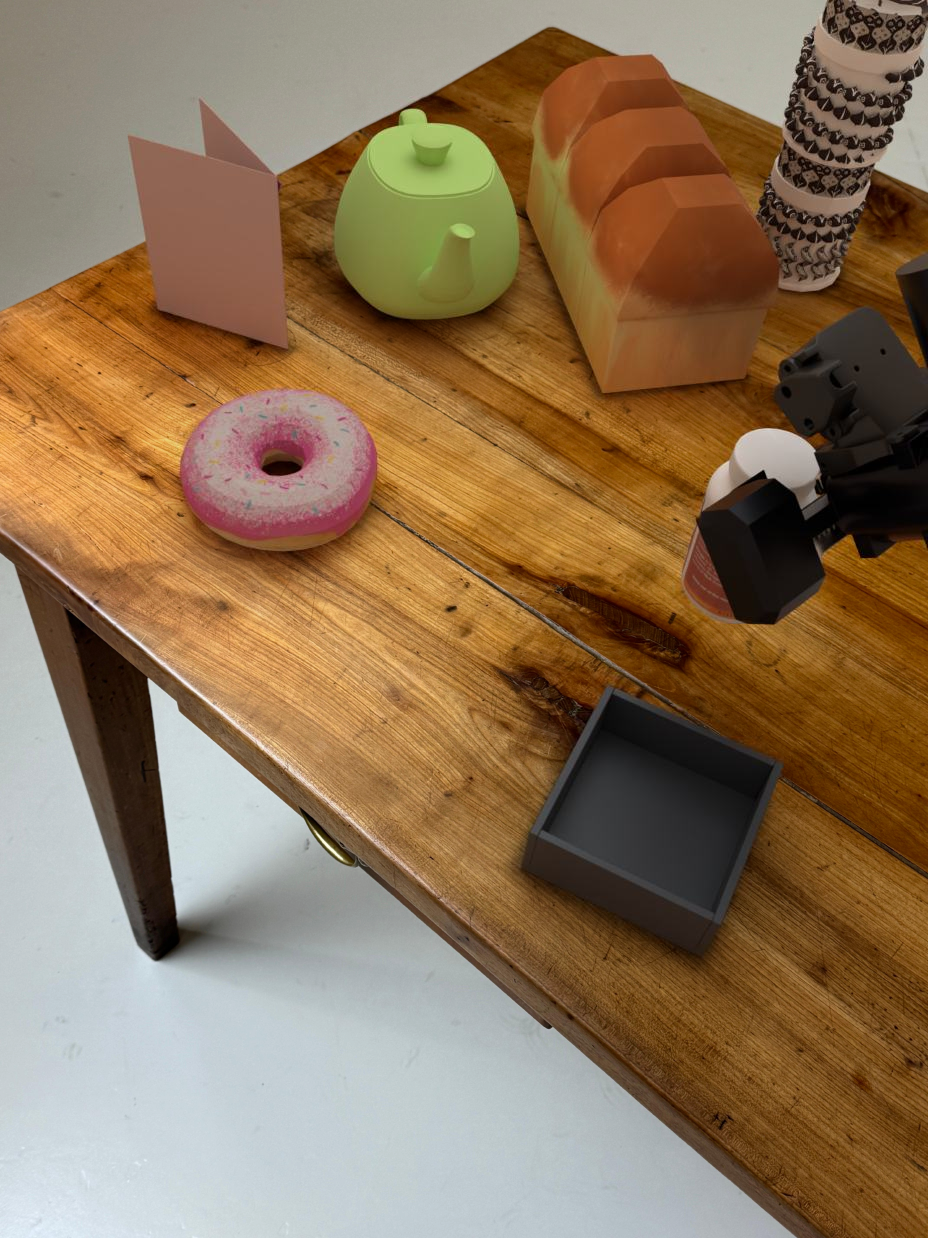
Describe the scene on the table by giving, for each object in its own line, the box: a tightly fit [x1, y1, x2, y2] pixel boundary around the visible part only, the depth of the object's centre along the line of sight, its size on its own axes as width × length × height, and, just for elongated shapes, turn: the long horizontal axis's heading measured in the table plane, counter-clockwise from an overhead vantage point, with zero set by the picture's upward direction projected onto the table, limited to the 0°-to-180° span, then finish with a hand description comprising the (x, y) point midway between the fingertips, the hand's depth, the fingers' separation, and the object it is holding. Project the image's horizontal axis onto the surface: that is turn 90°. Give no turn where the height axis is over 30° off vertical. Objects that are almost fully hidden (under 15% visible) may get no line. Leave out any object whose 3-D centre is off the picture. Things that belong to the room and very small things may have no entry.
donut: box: [179, 388, 378, 552], centre depth 81 cm, size 14×13×5 cm
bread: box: [525, 53, 780, 394], centre depth 93 cm, size 25×12×15 cm, turn 13°
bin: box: [520, 684, 785, 958], centre depth 67 cm, size 11×11×4 cm
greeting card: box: [127, 96, 289, 350], centre depth 87 cm, size 11×7×15 cm, turn 35°
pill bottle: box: [680, 427, 820, 625], centre depth 67 cm, size 6×6×11 cm
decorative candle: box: [754, 0, 928, 293], centre depth 93 cm, size 9×9×25 cm
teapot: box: [333, 108, 521, 320], centre depth 92 cm, size 22×15×13 cm
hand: (738, 499), depth 67 cm, fingers closed on pill bottle, 6 cm apart
